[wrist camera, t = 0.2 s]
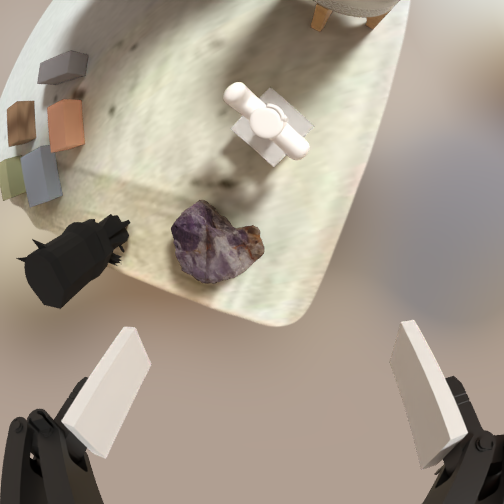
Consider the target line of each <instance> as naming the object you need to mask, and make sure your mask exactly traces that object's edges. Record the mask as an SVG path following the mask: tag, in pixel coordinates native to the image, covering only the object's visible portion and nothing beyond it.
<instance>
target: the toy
mask: <svg viewBox="0 0 504 504" xmlns="http://www.w3.org/2000/svg"><path fill="white" fill-rule="evenodd" d="M128 224H130V221H129V220H127V221H124V222H121V220H120V219H119V217H118V215H116V216H112V215H111V214H110V215H109V216H107V217H106V218H105V219H103V220H102V221H101V222H100V223H96V222H95V219H89V220H87V221H85V222H83V223H81V222H74V223H72V224H70V225H69V226H68V227H67V228H66V229H65V231H64V232H63V233H62V235H60V236H59V237H57V238H55V239H54V240H52V241H50V242H49V243H47V244H43V243H40V242H38V241H35V240H33V241H34V242H35V244H36V245H37V246H38V248H39V249H37V250H36V251H34V252H33V253H31V254H30V255H28V256H27V257H25V258H17V259H19V260H21V261H23V262H25V275H26V278H27V281H28V283H29V285H30V286H31V288H32V289H33V291H34V292H35V293H36V295H37V296H38V297H39V299H40V300H41V301H42V303H43V304H44V305H47V306H51V307H56V308H60V309H61V308H62V307H63V306H64V305H65V304H66V303H67V302H68V301H69V300H70V299H71V298H72V297H73V296H75V295H76V294H77V293H78V292H79V291H80V290H81V289H82V288H83V287H84V286H85V285H86V284H88V283H89V282H90V281H91V280H93V279H95V278H97V277H98V276H100V274H101V273H102V272H103V270H104V269H105V268H106V267H107V265H108V262H109V263H111V264H114V265H116V264H115V263H120V262H119V261H122V260H120V259H119V258H120V257H121V256H119V255H116V254H114V253H113V250H114V249H115V248H117V247H118V246H119V247H120V249H121V250H122V252H124V249H123V247H122V246H121V245H122V244H123V243H125V242H126V241H127V240H128V237H129V234H128V232H127V231H126V229H125V227H126V226H127V225H128ZM116 266H117V265H116Z"/></svg>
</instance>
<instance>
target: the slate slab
mask: <svg viewBox="0 0 504 504" xmlns="http://www.w3.org/2000/svg"><path fill="white" fill-rule="evenodd" d="M20 159H21V166H22V172H23V178H24V183H25V188H26V193H27V197H28V202H29V206H30V207H33V206H36V205H38V204H41V203H44V202H47V201H50V200H53V199H55V198H57V197H60V196H62V195H63V194H62V190H61V185H60V180H59V175H58V169H57V163H56V157H55V152H53V153H51V149H50V145H46V146H41V147H39V148H37V149H35V150H33V151H31V152H30V153H28V154H26V155H24V156H23V157H21V158H20Z"/></svg>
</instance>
